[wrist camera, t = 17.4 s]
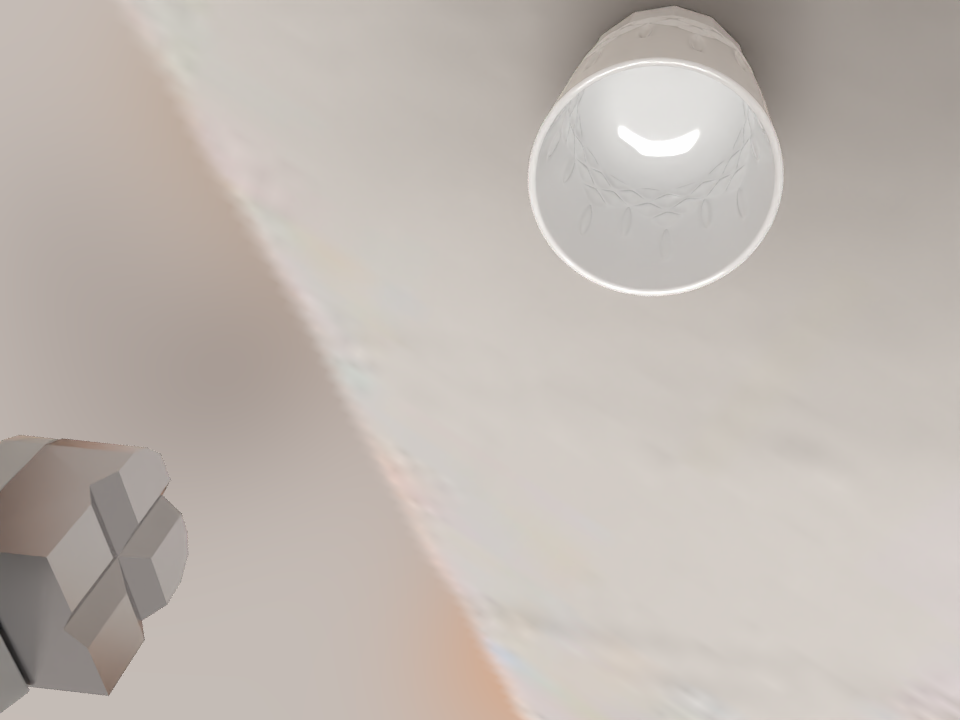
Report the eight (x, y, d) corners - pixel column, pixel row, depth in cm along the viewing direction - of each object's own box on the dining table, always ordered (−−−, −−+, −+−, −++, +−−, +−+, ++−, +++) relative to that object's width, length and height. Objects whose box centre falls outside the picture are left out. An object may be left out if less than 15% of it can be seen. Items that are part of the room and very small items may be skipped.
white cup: (689, 216, 39) (687, 336, 31) (531, 125, 38) (485, 223, 30) (807, 55, 35) (840, 144, 27) (631, -52, 34) (609, 6, 26)
